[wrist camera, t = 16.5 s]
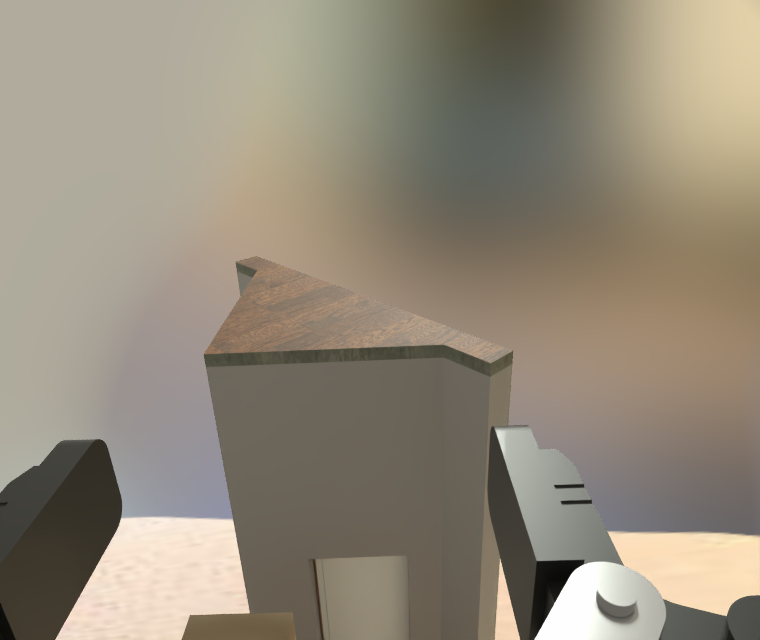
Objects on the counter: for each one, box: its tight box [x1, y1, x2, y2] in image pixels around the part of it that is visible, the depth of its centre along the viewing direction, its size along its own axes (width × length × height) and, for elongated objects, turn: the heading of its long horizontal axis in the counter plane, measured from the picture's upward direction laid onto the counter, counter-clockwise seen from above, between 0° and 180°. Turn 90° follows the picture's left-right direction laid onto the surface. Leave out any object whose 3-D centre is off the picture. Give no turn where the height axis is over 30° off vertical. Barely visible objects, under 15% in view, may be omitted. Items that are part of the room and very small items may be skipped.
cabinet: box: [204, 256, 513, 640], centre depth 35 cm, size 21×10×28 cm, turn 43°
